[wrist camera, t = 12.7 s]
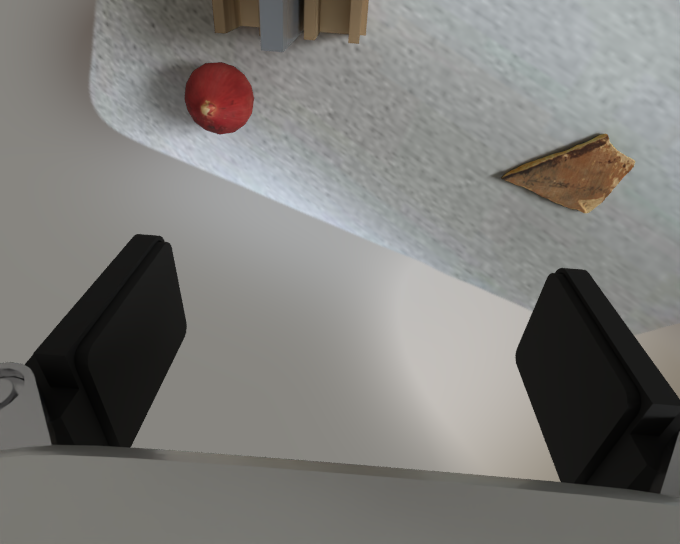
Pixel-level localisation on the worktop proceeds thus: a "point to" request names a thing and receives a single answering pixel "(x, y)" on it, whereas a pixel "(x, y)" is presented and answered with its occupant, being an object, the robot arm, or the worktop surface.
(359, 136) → the worktop surface
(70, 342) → the robot arm
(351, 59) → the worktop surface
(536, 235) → the worktop surface
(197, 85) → the onion
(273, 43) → the plate
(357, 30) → the rack
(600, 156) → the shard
